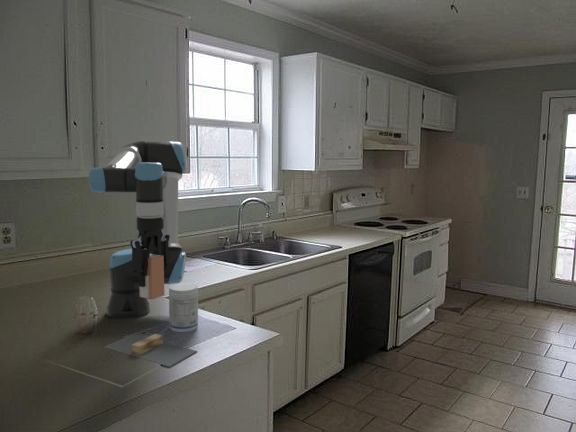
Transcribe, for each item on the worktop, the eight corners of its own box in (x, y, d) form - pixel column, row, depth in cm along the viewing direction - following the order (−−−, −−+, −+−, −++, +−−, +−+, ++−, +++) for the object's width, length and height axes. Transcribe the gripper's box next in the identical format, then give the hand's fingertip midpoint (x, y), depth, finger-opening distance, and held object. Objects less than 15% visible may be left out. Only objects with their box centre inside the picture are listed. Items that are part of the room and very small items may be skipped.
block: (151, 292, 145) (150, 253, 144) (164, 295, 143) (163, 255, 141) (139, 296, 141) (138, 256, 139) (152, 299, 139) (151, 258, 137)
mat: (133, 335, 157) (133, 334, 156) (196, 352, 144) (196, 350, 144) (103, 348, 146) (103, 347, 146) (169, 367, 134) (169, 366, 134)
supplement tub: (171, 323, 168) (171, 282, 165) (199, 322, 168) (198, 282, 166) (167, 334, 158) (166, 290, 156) (196, 333, 159) (196, 290, 157)
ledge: (155, 342, 151) (155, 333, 150) (162, 344, 149) (162, 335, 149) (131, 354, 142) (131, 344, 142) (139, 356, 141) (138, 346, 140)
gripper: (162, 212, 148) (163, 285, 152) (116, 218, 133) (118, 300, 136) (181, 213, 145) (182, 288, 148) (136, 221, 129) (138, 304, 132)
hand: (151, 294), depth 142 cm, fingers closed on block, 5 cm apart
